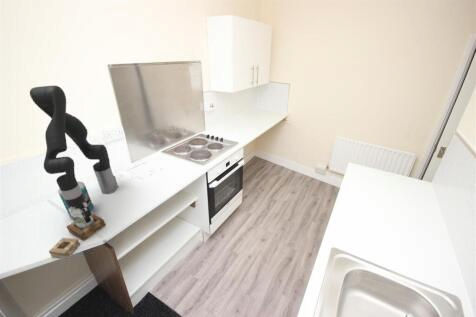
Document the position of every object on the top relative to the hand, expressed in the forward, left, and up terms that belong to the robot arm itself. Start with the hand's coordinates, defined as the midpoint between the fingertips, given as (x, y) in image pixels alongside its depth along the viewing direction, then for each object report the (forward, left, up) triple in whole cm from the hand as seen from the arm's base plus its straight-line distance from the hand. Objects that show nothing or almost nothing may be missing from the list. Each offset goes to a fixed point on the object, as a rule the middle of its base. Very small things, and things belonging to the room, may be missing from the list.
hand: (83, 219), depth 112 cm
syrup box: (0, 0, -5) cm, 5 cm away
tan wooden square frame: (+13, +4, -7) cm, 15 cm away
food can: (-6, -15, -7) cm, 18 cm away
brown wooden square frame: (0, 0, -7) cm, 7 cm away
